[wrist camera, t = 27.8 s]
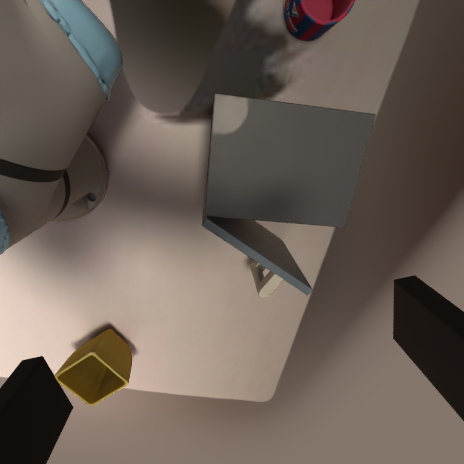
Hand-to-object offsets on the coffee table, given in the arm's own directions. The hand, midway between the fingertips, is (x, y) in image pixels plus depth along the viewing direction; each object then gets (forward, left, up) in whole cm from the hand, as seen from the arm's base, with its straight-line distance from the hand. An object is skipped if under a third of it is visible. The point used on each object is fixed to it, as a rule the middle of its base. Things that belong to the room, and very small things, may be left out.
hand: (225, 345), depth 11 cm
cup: (+19, +19, -37) cm, 46 cm away
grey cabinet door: (+2, -10, -37) cm, 38 cm away
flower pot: (-27, -27, -37) cm, 53 cm away
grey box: (+8, +2, -37) cm, 38 cm away
